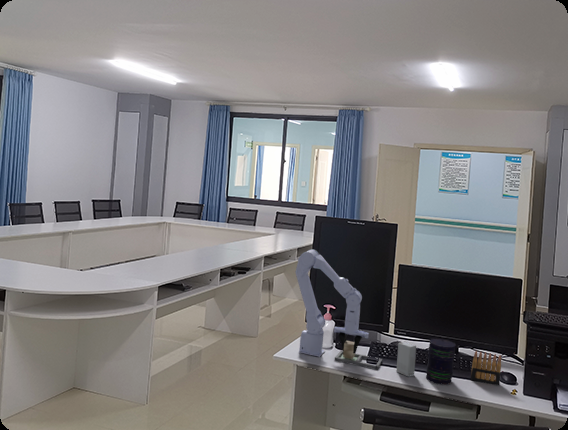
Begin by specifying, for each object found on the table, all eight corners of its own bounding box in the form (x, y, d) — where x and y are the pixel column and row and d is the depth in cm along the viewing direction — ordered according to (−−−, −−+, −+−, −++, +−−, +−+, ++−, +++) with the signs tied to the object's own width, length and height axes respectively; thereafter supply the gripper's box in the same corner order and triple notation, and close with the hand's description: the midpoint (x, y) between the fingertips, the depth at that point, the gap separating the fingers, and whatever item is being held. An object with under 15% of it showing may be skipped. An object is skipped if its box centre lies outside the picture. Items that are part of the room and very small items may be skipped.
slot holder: (334, 360, 216) (334, 357, 216) (340, 353, 225) (341, 350, 225) (377, 369, 209) (377, 366, 209) (382, 361, 219) (382, 358, 219)
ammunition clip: (470, 380, 206) (473, 350, 205) (470, 378, 208) (473, 349, 207) (499, 385, 203) (503, 355, 202) (499, 383, 205) (502, 354, 203)
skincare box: (414, 375, 207) (417, 345, 205) (407, 377, 204) (410, 347, 203) (402, 369, 211) (405, 340, 210) (395, 371, 208) (398, 342, 207)
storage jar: (451, 386, 198) (455, 348, 196) (424, 381, 201) (428, 344, 199) (451, 377, 207) (455, 341, 206) (426, 372, 210) (430, 336, 209)
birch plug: (342, 357, 217) (344, 343, 217) (345, 354, 221) (346, 340, 221) (352, 359, 216) (353, 345, 215) (354, 356, 220) (355, 342, 219)
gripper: (371, 320, 218) (368, 352, 220) (337, 314, 223) (335, 345, 225) (367, 324, 212) (364, 357, 213) (333, 318, 217) (330, 350, 218)
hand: (349, 351), depth 218 cm, fingers closed on birch plug, 4 cm apart
